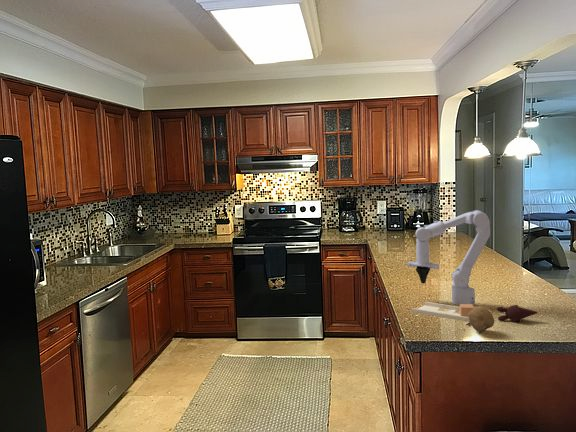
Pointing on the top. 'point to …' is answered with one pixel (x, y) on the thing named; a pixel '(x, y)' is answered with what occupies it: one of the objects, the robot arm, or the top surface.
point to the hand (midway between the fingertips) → (423, 282)
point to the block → (465, 309)
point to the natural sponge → (481, 318)
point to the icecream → (514, 313)
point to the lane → (434, 311)
